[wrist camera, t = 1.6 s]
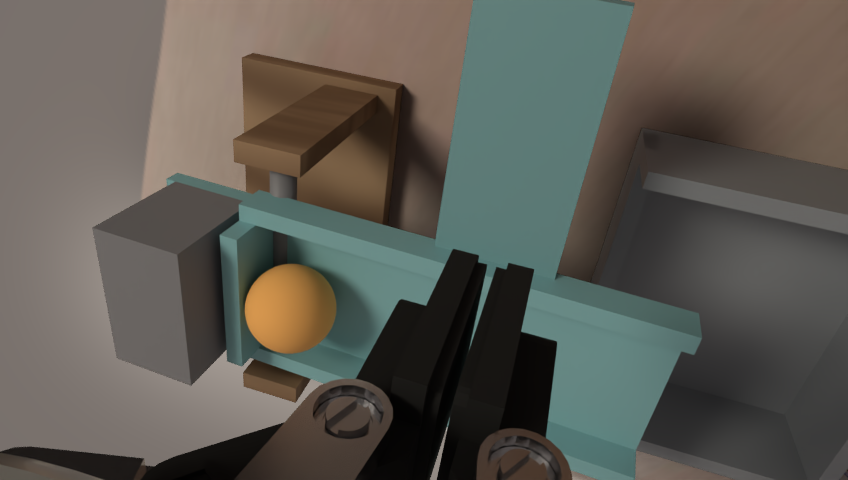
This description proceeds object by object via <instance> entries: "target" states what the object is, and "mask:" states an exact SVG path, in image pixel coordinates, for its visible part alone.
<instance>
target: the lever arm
mask: <svg viewBox="0 0 848 480" xmlns="http://www.w3.org/2000/svg"><path fill="white" fill-rule="evenodd" d="M633 8H634V3H632V2H627V1H621V0H473V6H472V12H471V18H470V25H469V31H468V37H467V44H466V50H465V56H464V63H463V69H462V75H461V81H460V88H459V94H458V100H457V107H456V113H455V119H454V126H453V132H452V138H451V145H450V151H449V157H448V164H447V170H446V176H445V183H444V189H443V195H442V202H441V208H440V214H439V220H438V227H437V233H436V239H432V238H429V237H425V236H422V235H418V234H414V233H411V232H407V231H404V230H400V229H397V228H393V227H389V226H386V225H382V224H379V223H375V222H372V221H368V220H365V219H361V218H357V217H354V216H350V215H347V214H343V213H340V212H336V211H332V210H329V209H325V208H322V207H318V206H315V205H311V204H308V203H304V202H300V201H297V177H294V176H290V175H286V174H282V173H278V172H274V171H270V193H268V192H265V191H261V190H258V191H257V192H255V193H254V194H251V193H247V192H244V191H240V190H236V189H233V188H229V187H226V186H222V185H219V184H215V183H212V182H208V181H205V180H201V179H198V178H194V177H191V176H187V175H184V174H180V173H176V174H175V175H173V176H171V177H169V178H167V186H166V187H165V188H163V189H161V190H159V191H157V192H156V193H154V194H152V195H150V196H148V197H147V198H145V199H143V200H141V201H139V202H138V203H136V204H134V205H132V206H130V207H129V208H127V209H125V210H123V211H121V212H120V213H118V214H116V215H114V216H112V217H111V218H109V219H107V220H106V221H104V222H102V223H100V224H98V225H96V226H95V227H93V234H94V238H95V244H96V250H97V255H98V260H99V266H100V271H101V276H102V281H103V287H104V292H105V297H106V303H107V307H108V313H109V318H110V324H111V329H112V335H113V339H114V345H115V351H116V356H117V358H118V359H121V360H123V361H126V362H129V363H131V364H134V365H137V366H139V367H142V368H145V369H148V370H150V371H153V372H156V373H159V374H161V375H164V376H167V377H169V378H172V379H174V380H177V381H180V382H183V383H185V384H188V385H192V384H193V383H194V382H195V381H196V380H197V379H198V378H199V377H200V376H201V375H202V374H203V373H204V372H205V371H206V370H207V369H208V368H209V367H210V366H211V365H212V364H213V363H214V362H215V361H216V360H217V359H218V358H219V357H220V356H221V354H223V352H224V351H225V350H226V349H227V361H228V362H231V363H234V364H237V365H239V366H243V365H244V363H246V362H247V360H248V359H249V358H253V359H256V360H258V361H261V362H264V363H267V364H270V365H273V366H276V367H278V368H281V369H284V370H287V371H290V372H293V373H296V374H298V375H301V376H304V377H307V378H310V379H313V380H316V381H318V382H321V383H324V384H325V383H327V382H329V381H332V380H338V379H344V378H345V379H356V377H357V375H358V373H359V372H360V370H361V368H362V366H363V364H364V362H365V361H366V359H367V357H368V355H369V353H370V352H371V350H372V348H373V346H374V344H375V342H376V341H377V339H378V337H379V335H380V333H381V332H382V330H383V328H384V326H385V324H386V323H387V321H388V319H389V317H390V315H391V313H392V312H393V310H394V308H395V306H396V304H397V303H398V301H399V300H401V299H404V300H407V301H411V302H415V303H418V304H422V305H427V302H428V300H429V298H430V296H431V294H432V292H433V290H434V288H435V286H436V283H437V281H438V279H439V277H440V275H441V273H442V271H443V269H444V267H445V264H446V262H447V260H448V258H449V256H450V254H451V252H452V250H453V249H457V250H461V251H465V252H469V253H472V254H476V255H479V260H478V262H480V263H484V264H487V270H486V274H485V279H484V284H483V288H482V293H481V297H480V302H479V307H478V311H477V316H476V320H475V325H474V330H473V334H472V339H471V343H472V340H473V337H474V334H475V331H476V328H477V325H478V322H479V319H480V316H481V312H482V309H483V306H484V303H485V300H486V297H487V294H488V291H489V288H490V285H491V282H492V279H493V276H494V272H495V269H496V267H499V268H503V269H507V266H508V263H512V264H516V265H520V266H524V267H528V268H532V269H534V274H533V279H532V283H531V288H530V293H529V297H528V302H527V307H526V311H525V316H524V321H523V325H522V330H521V332H525V333H528V334H532V335H536V336H539V337H543V338H547V339H550V340H554V341H557V352H556V360H555V368H554V376H553V384H552V392H551V400H550V409H549V417H548V425H547V433H546V439H548V440H550V441H551V442H552V443H553V444H554V445H555V446H556V447H558V448H559V449H560V450H561V452H562V453H563V455H564V456H565V458H566V459H567V461H568V463H569V467H570V470H572V471H575V472H578V473H581V474H584V475H587V476H589V477H592V478H595V479H598V480H635V463H636V449H637V447H638V445H639V442H640V440H641V438H642V436H643V434H644V431H645V429H646V427H647V425H648V423H649V421H650V418H651V416H652V414H653V412H654V410H655V408H656V405H657V403H658V401H659V399H660V397H661V395H662V392H663V390H664V388H665V386H666V384H667V382H668V379H669V377H670V375H671V373H672V371H673V369H674V366H675V364H676V362H677V360H678V358H679V356H680V353H681V351H682V352H685V353H689V354H692V355H694V354H695V352H696V350H697V348H698V346H699V344H700V342H701V340H702V333H701V326H700V318H699V313H696V312H692V311H689V310H685V309H682V308H678V307H674V306H671V305H667V304H664V303H660V302H657V301H653V300H649V299H646V298H642V297H639V296H635V295H632V294H628V293H625V292H621V291H617V290H614V289H610V288H607V287H603V286H600V285H596V284H592V283H589V282H585V281H582V280H578V279H575V278H571V277H568V276H564V275H560V274H557V269H558V266H559V263H560V259H561V256H562V252H563V249H564V245H565V242H566V239H567V235H568V232H569V228H570V225H571V221H572V218H573V214H574V211H575V208H576V204H577V201H578V197H579V194H580V190H581V187H582V184H583V180H584V177H585V173H586V170H587V166H588V163H589V160H590V156H591V153H592V149H593V146H594V142H595V139H596V135H597V132H598V129H599V125H600V122H601V118H602V115H603V111H604V108H605V105H606V101H607V98H608V94H609V91H610V87H611V84H612V81H613V77H614V74H615V70H616V67H617V63H618V60H619V57H620V53H621V50H622V46H623V43H624V39H625V36H626V32H627V29H628V26H629V22H630V19H631V15H632V12H633ZM283 264H300V265H305V266H308V267H310V268H312V269H314V270H316V271H318V272H319V273H320V274H321V275H322V276H324V277H325V279H326V280H327V281H328V282H329V284H330V285H331V287H332V289H333V292H334V294H335V298H336V317H335V321H334V324H333V326H332V328H331V330H330V332H329V333H328V334H327V336H326V337H325V338H324V339H323V340H322V341H321V342H320V343H319V344H317V345H316V346H314V347H313V348H311V349H309V350H306V351H303V352H300V353H294V354H285V353H279V352H275V351H273V350H270V349H268V348H266V347H265V346H263V345H262V344H261V343H260V342H259V341H257V339H256V338H255V337H254V336H253V334H252V333H251V331H250V329H249V327H248V325H247V322H246V317H245V302H246V298H247V295H248V292H249V290H250V288H251V286H252V285H253V283H254V282H255V281H256V280H257V279H258V277H259V276H261V275H262V274H263V273H264V272H266V271H267V270H269V269H271V268H273V267H276V266H279V265H283ZM471 343H470V346H471ZM469 349H470V348H469ZM449 420H450V418H449ZM448 425H449V421H448V424H447V427H448Z"/></svg>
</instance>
